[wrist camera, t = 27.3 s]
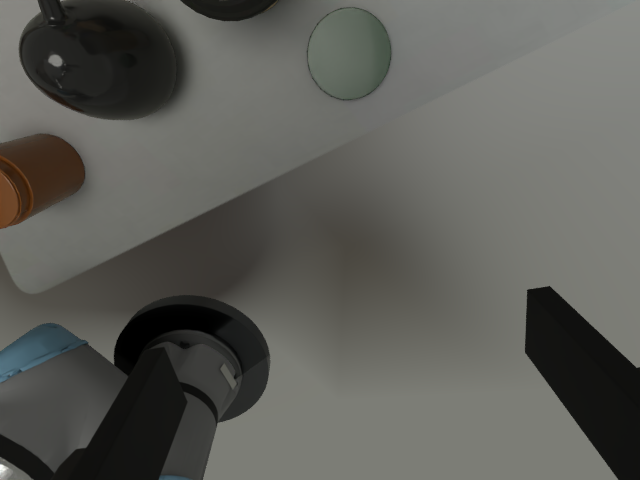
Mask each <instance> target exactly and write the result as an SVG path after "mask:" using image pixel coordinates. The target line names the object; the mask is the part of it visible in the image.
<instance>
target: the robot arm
mask: <svg viewBox="0 0 640 480" xmlns="http://www.w3.org/2000/svg"><path fill="white" fill-rule="evenodd" d="M526 314H527V315H526V339H525V353H526V354H527V356H528V357H529V358H530V359H531V361H532V362H533V364H534V365H535V366H536V368H537V369H538V371H539V372H540V373H541V375H542V376H543V377H544V378H545V380H546V381H547V383H548V384H549V386H550V387H551V388H552V390H553V391H554V392H555V394H556V395H557V396H558V398H559V399H560V401H561V402H562V403H563V405H564V406H565V407H566V408H567V410H568V411H569V413H570V414H571V416H572V417H573V418H574V419H575V421H576V422H577V424H578V425H579V426H580V428H581V429H582V431H583V432H584V433H585V435H586V436H587V437H588V439H589V440H590V441H591V443H592V444H593V446H594V447H595V448H596V450H597V451H598V452H599V454H600V455H601V456H602V458H603V459H604V460H605V462H606V463H607V465H608V466H609V467H610V469H611V470H612V472H613V473H614V474H615V475H616V477H617V478H618V480H640V367H639V368H636V367H635V366H634V365H633V364H632V363H631V362H630V361H629V360H628V359H627V358H626V357H624V356H623V355H622V354H621V353H620V352H619V351H618V350H617V349H616V348H615V347H614V346H613V345H612V344H611V343H609V341H608V340H606V339H605V338H604V337H603V336H602V335H601V334H600V333H599V332H598V331H597V330H596V329H594V327H592V326H591V325H590V324H589V323H588V322H587V321H586V320H585V319H584V318H583V317H582V316H581V315H580V314H579V313H578V312H577V311H576V310H575V309H573V308H572V307H571V306H570V305H569V304H568V303H567V302H566V301H565V300H564V299H563V298H562V297H561V296H560V295H559V294H558V293H556V292H555V291H554V290H553V289H552V288H551V287H550V286H548V287H542V288H536V289H529V290H527V313H526ZM242 376H243V367H242V363H241V360H240V358H239V356H238V354H237V352H236V351H235V350H234V348H233V347H232V346H231V345H230V344H229V343H228V342H226V341H225V340H224V339H222V338H221V337H219V336H217V335H216V334H213V333H211V332H209V331H206V330H202V329H197V328H189V327H182V328H174V329H169V330H166V331H164V332H161V333H159V334H157V335H156V336H154V337H153V338H152V339H151V340H150V341H149V342H148V343H147V344H146V345H145V347H144V349H143V350H142V352H141V354H140V356H139V358H138V361H137V363H136V365H135V367H134V368H133V370H132V372H131V373H130V375H129V377H128V376H127V375H126V374H125V373H123V372H122V371H121V370H120V369H118V368H117V367H116V366H115V365H113V364H112V363H111V362H109V361H108V360H107V359H106V358H105V357H103V356H102V355H101V354H100V353H98V352H97V351H96V350H94V349H93V348H92V347H91V346H89V345H88V342H87V341H85V340H81V339H79V338H78V337H76V336H75V335H74V334H72V333H71V332H69V331H68V330H66V329H65V328H64V327H62V326H60V325H58V324H54V323H46V324H42V325H39V326H37V327H35V328H34V329H32V330H30V331H29V332H27V333H26V334H25V335H23V336H22V337H20V338H19V339H17V340H16V341H14V342H13V343H12V344H10V345H9V346H7V347H6V348H4V349H3V350H2V351H0V480H203V477H204V473H205V469H206V465H207V461H208V458H209V454H210V450H211V446H212V442H213V439H214V435H215V431H216V427H217V423H218V421H219V420H220V418H221V417H222V415H223V414H224V413H225V411H226V410H227V409H228V407H229V406H230V404H231V403H232V402H233V400H234V399H235V397H236V395H237V393H238V391H239V389H240V386H241V381H242Z"/></svg>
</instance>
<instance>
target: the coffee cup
mask: <svg viewBox="0 0 640 480" xmlns="http://www.w3.org/2000/svg"><path fill="white" fill-rule="evenodd" d="M181 1H182V2H183V3H184V4H185V5H187V6H188V7H190V8H191V9H193V10H194V11H195V12H197V13H200V14H202V15H204V16H206V17H209V18H212V19H217V20H221V21H240V20H244V19H248V18H252V17H254V16H256V15H258V14H261V13H263V12H265V11H267V10H269V9H270V8H272V7H273V6H274V5H275V4H276V3H277V2H278V0H181Z"/></svg>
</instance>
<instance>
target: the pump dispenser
mask: <svg viewBox="0 0 640 480" xmlns="http://www.w3.org/2000/svg"><path fill="white" fill-rule="evenodd" d="M38 3H39V6H40V10H41V12H40V13H39V14H37V15H36V16H35V17H34V18H33V19H31V20H30V22H29V23H28V24H27V25H26V27H25V28H24V30H23V32H22V34H21V37H20V41H19V57H20V62H21V65H22V67H23V69H24V71H25V73H26V75H27V76H28V78H29V79H30V81H31V82H32V83H33V84H34V85H35V86H36V87H37V88H38V89H39V90H40V91H41V92H42V93H43V94H45V95H46V96H47V97H49V98H50V99H52V100H53V101H55V102H57V103H59V104H60V105H62V106H64V107H66V108H69V109H71V110H73V111H76V112H78V113H81V114H84V115H87V116H90V117H95V118H100V119H107V120H134V119H139V118H143V117H146V116H149V115H151V114H153V113H155V112H156V111H158V110H159V109H160V108H161V107H162V106H163V105H164V104H165V103H166V102H167V101H168V99H169V98H170V96H171V94H172V92H173V89H174V86H175V83H176V76H177V65H176V58H175V53H174V50H173V47H172V44H171V42H170V40H169V38H168V36H167V34H166V33H165V31H164V30H163V28H162V27H161V26H160V24H159V23H158V22H157V21H156V20H155V19H154V18H153V17H152V16H151V15H150V14H149V13H147V12H146V11H145V10H143V9H142V8H140V7H138V6H137V5H135V4H133V3H130V2H128V1H125V0H63V1H61V2H60V0H38Z"/></svg>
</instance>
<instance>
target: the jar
mask: <svg viewBox="0 0 640 480" xmlns="http://www.w3.org/2000/svg"><path fill="white" fill-rule="evenodd" d="M84 177H85V171H84V166H83V163H82V160H81V158H80V156H79V155H78V153H77V152H76V151H75V149H74V148H73V147H72V146H71V145H69V144H68V143H67V142H65V141H64V140H62V139H60V138H58V137H56V136H53V135H49V134H36V135H32V136H28V137H24V138H20V139H16V140H12V141H8V142H4V143H0V229H2V228H6V227H8V226H12V225H16V224H19V223H21V222H23V221H25V220H26V219H28V218H30V217H32V216H34V215H36V214H38V213H39V212H41V211H43V210H45V209H47V208H49V207H51V206H52V205H54V204H56V203H58V202H60V201H62V200H64V199H65V198H67V197H69V196H71V195H73V194H74V193H76V192H77V191H78V190H79V189H80V188H81V186H82V184H83V182H84Z"/></svg>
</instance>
